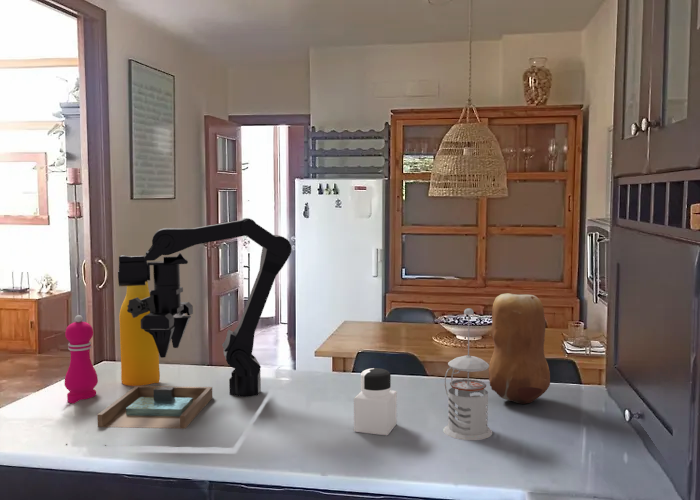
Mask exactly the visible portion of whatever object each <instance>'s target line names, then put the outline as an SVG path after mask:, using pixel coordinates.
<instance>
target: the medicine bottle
mask: <svg viewBox="0 0 700 500" xmlns="http://www.w3.org/2000/svg"><path fill="white" fill-rule="evenodd" d="M391 376H392V375H391V372H390V371H389V370H387V369H385V368H379V367H378V368H374V367H373V368H367V369H365V370H362V372H360V392H359V393H358V394H357V395H356V396H355V397H354V398H353V431H354V432H356V433H363V434H371V435H378V436H388V435H390V433H391V431H392V430H393V429H394V428H395V427H396V425H397V424H398V418H397V417H398V415H397V414H398V413H397V412H398V410H397V409H398V404H397V403H398V396H397V395H398V392H397V391H396V390H391V389H392V388H391V387H392V386H391V384H392V383H391V381H392V379H391Z"/></svg>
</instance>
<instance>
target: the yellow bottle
mask: <svg viewBox="0 0 700 500" xmlns="http://www.w3.org/2000/svg"><path fill="white" fill-rule="evenodd" d="M137 297H138V298H139V299H140V300H142V299H144V298H147V297H150V290H149V283H148V280H147V282H146V285H141V286H126V294H125V297H124V299H123V302H122V303H121V307H120V308H119V309H120V311H119V317H118V318H119V339H120V340H119V342H120V345H119V346H120V366H121V367H120V370H121V371H120V374H121V375H120V380H121V384H123V385H124V386H132V387H135V386H149V385H151V384H159V383H160V381H161V380H160V379H161V374H160V373H161V372H160V355H159V352H158V349H157V346H156V343H155V341H154V338H153V336H152V335H151V334H150V333H148V332H145V331H144V329H141V319H142V318H143V317H144V316H145V315H147V314H149V313H150V311H148V312H146V313H143V314H140V315H138V316H137V317H135V318H133V316H132V314H131V313H129V312H128V311H127V309H128V307H127V305H129V300H131V299H134V298H137Z"/></svg>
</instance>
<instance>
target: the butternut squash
mask: <svg viewBox="0 0 700 500" xmlns="http://www.w3.org/2000/svg"><path fill="white" fill-rule="evenodd" d="M544 309H545V308H544V305H543V303H542V301H541V299H540V298H538V297H537V296H536V295H533V294H514V293H508V292H506V293H501V294H499V295H497V296H496V297H495V299H494V301H493V304H492V309H491V331H490V332H491V337H492V340H493V345H494V348H493V352H492V355H491V358H490V361H489V363H488V364H489V367H488V381H489V386H490V388H491V390H492V391H493V392H494V393H496V394H497V395H498V397H499V398H502V399H504V400H507V401H510V402H514V403H515V404H520V405H525V404H526V405H527V404H529V403H533V402H534V401H536V400H537V399H539V398H540V397H541V396H542V395H544V394H545V393H546V392H547V390H548V389H549V388H550V386H551V372H550V367H549V363H548V360H547V359H546V356H545V351H544V350H545V349H544V345H545V337H546V317H545V310H544Z"/></svg>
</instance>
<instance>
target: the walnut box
mask: <svg viewBox="0 0 700 500" xmlns="http://www.w3.org/2000/svg"><path fill="white" fill-rule="evenodd" d="M156 387H174V393H175V397H177V398H193V403H192V404H191V405H190V406H189V407H188V408H187V409H186V410H185V411H184V412H183V413H182V414H181V415H180V416H133V415H126V408H127V407H128V406H130V405H131V404H132V403H133V402H135V401H136V400H137V399H138V398H140V397H154V391H153V390H154V389H155V388H156ZM213 398H214V397H213V386H173V385H171V386H170V385H169V386H166V385H162V386H161V385H141V386H133V388H131V389H129V390H128V391H127V392H125V393H124V394H123V395H121V396H120V397H119V398H117V399H116V400H115V401H113V402H112V403H110V404H109V406H107V407H105V408H104V409H103V410H101V411H100V412H99V413H97V414H96V416H97V417H96V418H97V428H129V429H130V428H133V429H134V428H136V429H140V428H141V429H182V430H184V429H185V430H186V429H187V427H188V426H189V425H190V423H192V422H193V421H194V419H195V418H197V416H198V415H199V414H200V413H201V412H202V410H203V409H204V408H205V407H206V406H207V405H208V403H209V402H210V401H211V400H212V399H213Z"/></svg>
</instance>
